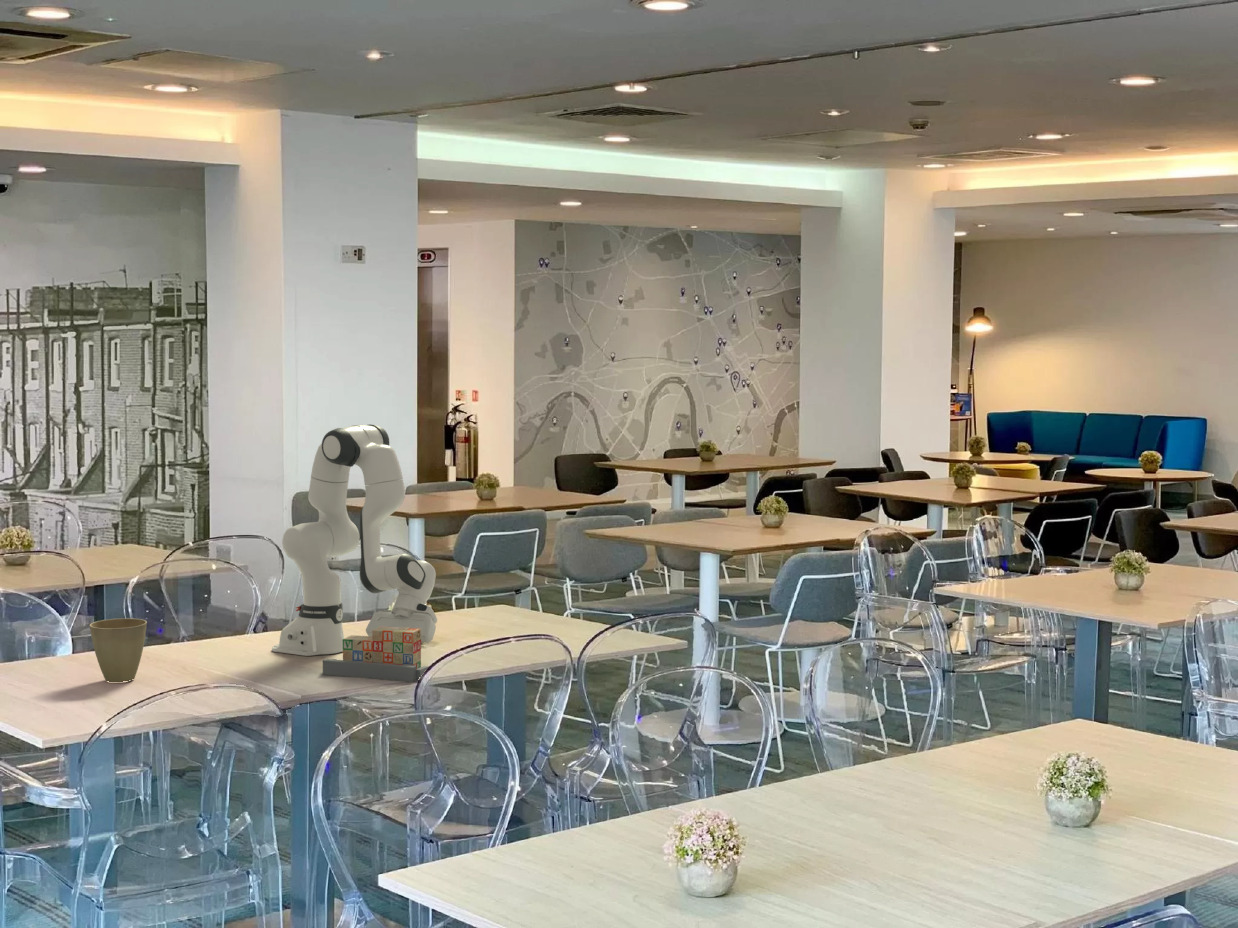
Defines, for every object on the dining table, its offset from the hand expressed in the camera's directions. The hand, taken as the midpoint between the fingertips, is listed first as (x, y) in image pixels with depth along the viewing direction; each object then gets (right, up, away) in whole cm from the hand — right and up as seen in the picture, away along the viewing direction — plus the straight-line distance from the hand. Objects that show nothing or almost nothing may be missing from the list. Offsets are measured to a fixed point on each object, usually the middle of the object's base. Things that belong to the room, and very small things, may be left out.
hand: (391, 651), depth 438 cm
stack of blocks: (-2, -5, -3) cm, 7 cm away
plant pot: (-72, -6, -16) cm, 74 cm away
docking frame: (-4, -6, -9) cm, 12 cm away
